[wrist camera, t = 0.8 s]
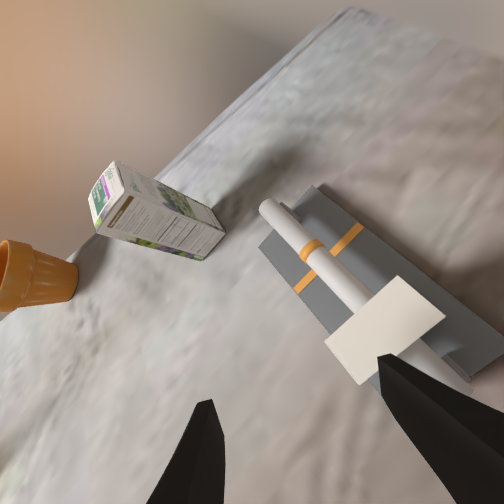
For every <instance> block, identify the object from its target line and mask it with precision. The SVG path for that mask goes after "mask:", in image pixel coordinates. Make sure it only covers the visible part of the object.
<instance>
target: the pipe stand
mask: <svg viewBox="0 0 504 504" xmlns="http://www.w3.org/2000/svg"><path fill="white" fill-rule="evenodd" d="M259 213H260V214H261V215H262V216H263V217H264V218H265V219H266V220H267V221H268V223H269V224H270V225H271V226H272V227H273V228H274V230H273V231H272V232H271V233H270V234H269V235H268V237H267V238H266V239H265V240H264V241H263V242H262V243H261V245H260V246H259V247H258V248H259V249H260V250H261V251H262V252H263V254H264V255H265V256H266V257H267V259H268V260H269V261H270V262H271V263H272V265H273V266H274V267H275V268H276V269H277V271H278V272H279V273H280V274H281V275H282V277H283V278H284V279H285V280H286V281H287V283H288V284H289V285H290V286H291V287H292V289H293V290H294V291H295V292H296V294H297V295H298V296H299V297H300V298H301V300H302V301H303V302H304V303H305V304H306V306H307V307H308V308H309V309H310V310H311V312H312V313H313V314H314V315H315V316H316V318H317V319H318V320H319V321H320V323H321V324H322V325H323V326H324V327H325V329H326V330H327V331H328V332H329V333H330V335H332V334H333V333H334V332H335V331H336V330H337V329H338V328H339V327H340V326H342V325H343V324H344V323H345V322H346V321H347V320H348V319H349V318H350V317H352V316H353V315H354V314H355V313H356V312H357V311H358V310H359V309H360V308H362V307H363V306H364V305H365V304H366V303H367V302H368V301H369V300H370V299H372V298H373V297H374V296H375V295H376V294H377V293H378V292H379V291H380V290H381V289H383V288H384V287H385V286H386V285H387V284H388V283H389V282H390V281H391V280H393V279H394V278H395V277H396V276H397V275H398V276H399V277H400V278H402V279H403V280H404V281H405V282H406V283H407V284H409V285H410V286H411V287H412V288H413V289H414V290H416V291H417V292H418V293H419V294H420V295H422V296H423V297H424V298H425V299H426V300H427V301H429V302H430V303H431V304H432V305H433V306H435V307H436V308H437V309H438V310H439V311H440V312H442V313H443V314H444V315H445V316H446V317H445V318H444V319H442V320H441V321H440V322H439V323H437V324H436V325H435V326H434V327H432V328H431V329H430V330H429V331H427V332H426V333H425V334H424V335H422V336H421V337H420V338H418V339H417V340H416V341H415V342H413V343H412V344H411V345H410V346H408V347H407V348H406V349H404V350H403V351H402V352H401V353H399V354H398V355H397V357H398V358H400V359H402V360H403V361H405V362H407V363H408V364H410V365H412V366H414V367H415V368H417V369H419V370H420V371H422V372H424V373H426V374H427V375H429V376H431V377H433V378H434V379H436V380H438V381H440V382H442V383H444V384H445V385H447V386H449V387H451V388H453V389H455V390H457V391H459V392H460V393H462V394H464V395H466V396H468V397H469V396H470V394H471V393H472V392H473V388H472V387H471V386H470V385H469V384H467V383H469V382H470V381H471V379H470V377H471V376H472V375H474V374H475V373H477V372H478V371H480V370H481V369H482V368H484V367H485V366H487V365H488V364H490V363H491V362H492V361H494V360H495V359H497V358H498V357H500V356H501V355H502V354H504V336H503V335H501V334H500V333H499V332H498V331H496V330H495V329H494V328H493V327H491V326H490V325H489V324H487V323H486V322H485V321H484V320H482V319H481V318H480V317H479V316H477V315H476V314H475V313H474V312H472V311H471V310H470V309H468V308H467V307H466V306H465V305H463V304H462V303H461V302H460V301H458V300H457V299H456V298H455V297H453V296H452V295H451V294H449V293H448V292H447V291H446V290H444V289H443V288H442V287H441V286H439V285H438V284H437V283H436V282H434V281H433V280H432V279H430V278H429V277H428V276H427V275H425V274H424V273H423V272H422V271H420V270H419V269H418V268H417V267H415V266H414V265H413V264H411V263H410V262H409V261H408V260H406V259H405V258H404V257H403V256H401V255H400V254H399V253H398V252H396V251H395V250H394V249H392V248H391V247H390V246H389V245H387V244H386V243H385V242H384V241H382V240H381V239H380V238H379V237H377V236H376V235H375V234H373V233H372V232H371V231H370V230H368V229H367V228H366V227H365V226H363V225H362V224H361V223H360V222H358V221H357V220H356V219H354V218H353V217H352V216H351V215H349V214H348V213H347V212H346V211H344V210H343V209H342V208H341V207H339V206H338V205H337V204H335V203H334V202H333V201H332V200H330V199H329V198H328V197H327V196H325V195H324V194H323V193H322V192H320V191H319V190H318V189H316V188H315V187H314V186H313V185H312V186H311V187H310V188H309V189H308V191H307V192H306V193H305V194H304V195H303V196H302V197H301V199H300V200H299V201H298V202H297V203H296V204H295V205H294V207H293V208H292V209H290V208H289V207H287V206H286V205H285V204H283V203H282V202H281V203H280V204H279V203H278V202H277V201H276V200H275V199H273V198H268V199H266V200H264V201H263V202H262V203H261V205H260V207H259ZM368 380H369V382H370V383H371V384H372V385H373V387H374V388H375V389H376V390H377V391H378V393H379V394H380V395H381V388H380V379H379V370H378V371H377V372H376V373H374V374H373V375H372V376H371V377H369V378H368Z"/></svg>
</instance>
